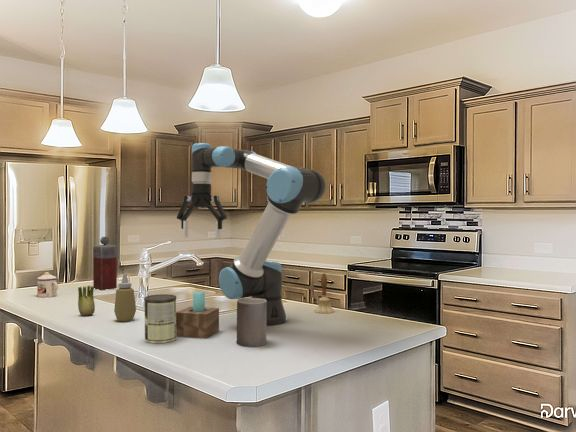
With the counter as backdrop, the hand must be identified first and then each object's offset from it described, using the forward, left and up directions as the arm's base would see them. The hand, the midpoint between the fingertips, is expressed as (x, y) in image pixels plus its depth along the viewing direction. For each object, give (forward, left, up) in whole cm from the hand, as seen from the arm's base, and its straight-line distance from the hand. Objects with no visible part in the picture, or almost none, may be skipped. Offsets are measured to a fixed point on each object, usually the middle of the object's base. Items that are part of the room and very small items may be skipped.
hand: (201, 237), depth 203 cm
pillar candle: (-31, +30, -32) cm, 54 cm away
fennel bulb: (+47, +7, -32) cm, 57 cm away
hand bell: (-44, -26, -32) cm, 60 cm away
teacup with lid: (+94, -28, -32) cm, 103 cm away
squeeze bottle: (+27, +11, -32) cm, 43 cm away
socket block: (-9, +23, -32) cm, 40 cm away
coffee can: (-1, +34, -32) cm, 46 cm away
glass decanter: (+83, -57, -32) cm, 106 cm away
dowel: (-9, +23, -32) cm, 40 cm away
